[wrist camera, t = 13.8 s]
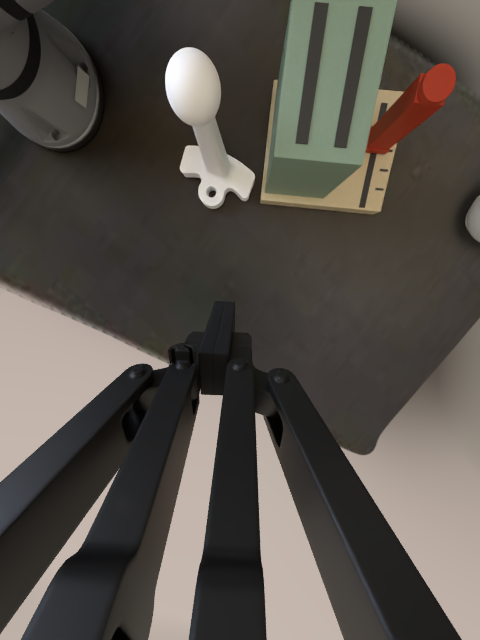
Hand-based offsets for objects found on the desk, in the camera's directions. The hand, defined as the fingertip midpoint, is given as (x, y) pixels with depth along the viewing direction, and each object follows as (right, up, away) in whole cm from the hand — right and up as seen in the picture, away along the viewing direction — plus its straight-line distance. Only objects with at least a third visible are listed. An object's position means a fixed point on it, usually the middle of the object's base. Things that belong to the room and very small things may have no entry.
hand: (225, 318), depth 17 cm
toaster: (+14, +26, +17) cm, 34 cm away
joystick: (-3, +22, +19) cm, 29 cm away
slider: (+21, +25, +15) cm, 36 cm away
